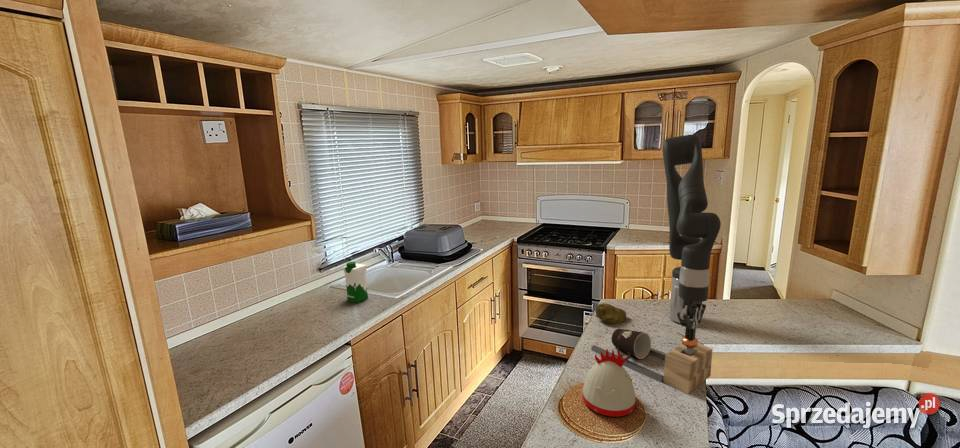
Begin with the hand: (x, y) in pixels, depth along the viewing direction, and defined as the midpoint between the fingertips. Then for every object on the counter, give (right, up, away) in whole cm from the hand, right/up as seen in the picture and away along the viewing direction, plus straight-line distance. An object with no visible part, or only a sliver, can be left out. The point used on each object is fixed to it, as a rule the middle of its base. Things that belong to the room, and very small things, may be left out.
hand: (689, 338), depth 115 cm
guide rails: (-9, -11, +15) cm, 21 cm away
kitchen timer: (-26, -15, -6) cm, 31 cm away
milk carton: (-119, -4, +72) cm, 139 cm away
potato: (-9, -6, +42) cm, 44 cm away
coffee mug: (-14, -7, +22) cm, 27 cm away
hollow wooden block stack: (0, -13, +2) cm, 13 cm away
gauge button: (0, -9, +2) cm, 10 cm away
